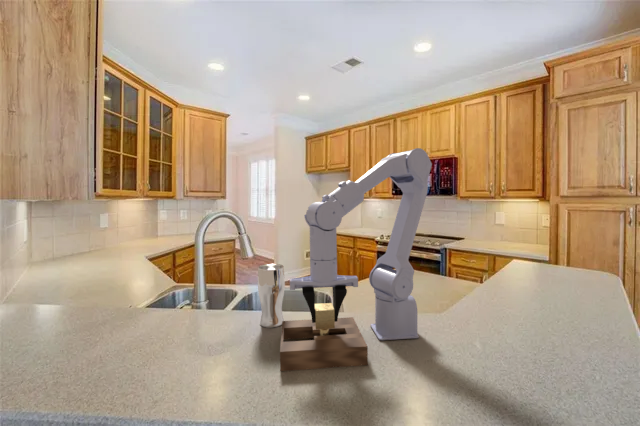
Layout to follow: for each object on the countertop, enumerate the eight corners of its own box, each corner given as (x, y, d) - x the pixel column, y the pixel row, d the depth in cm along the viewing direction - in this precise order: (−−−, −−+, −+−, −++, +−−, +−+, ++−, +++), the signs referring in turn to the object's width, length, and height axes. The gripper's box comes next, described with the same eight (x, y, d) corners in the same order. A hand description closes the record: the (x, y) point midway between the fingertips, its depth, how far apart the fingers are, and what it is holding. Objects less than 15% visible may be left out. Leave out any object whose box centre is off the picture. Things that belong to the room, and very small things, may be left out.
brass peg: (332, 341, 67) (331, 302, 67) (334, 350, 63) (334, 309, 63) (314, 342, 67) (314, 303, 66) (316, 351, 63) (315, 310, 62)
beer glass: (253, 325, 77) (251, 268, 76) (269, 316, 83) (268, 262, 82) (275, 330, 74) (274, 270, 73) (290, 320, 80) (289, 265, 79)
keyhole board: (353, 332, 72) (352, 317, 72) (367, 365, 58) (367, 346, 58) (282, 336, 71) (282, 321, 71) (280, 371, 57) (279, 351, 57)
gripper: (353, 253, 68) (353, 311, 69) (289, 255, 67) (290, 314, 68) (360, 259, 61) (360, 324, 62) (289, 262, 60) (290, 328, 61)
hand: (324, 320), depth 64 cm, fingers closed on brass peg, 4 cm apart
